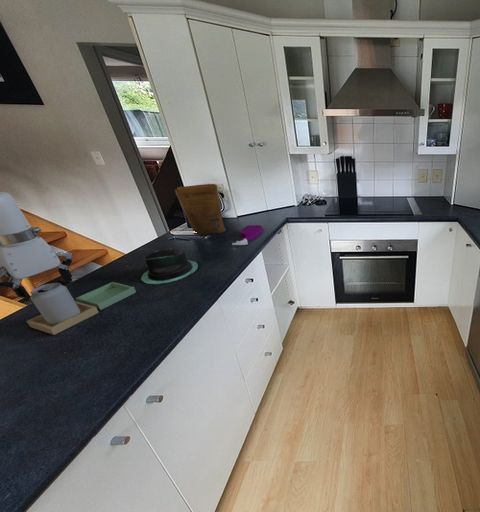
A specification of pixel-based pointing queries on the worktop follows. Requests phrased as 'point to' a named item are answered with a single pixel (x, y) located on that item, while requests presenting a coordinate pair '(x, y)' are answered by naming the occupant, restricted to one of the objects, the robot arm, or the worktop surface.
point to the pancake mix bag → (202, 208)
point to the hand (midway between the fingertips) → (48, 288)
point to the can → (54, 303)
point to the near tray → (53, 329)
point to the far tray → (106, 295)
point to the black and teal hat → (167, 266)
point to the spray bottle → (249, 234)
